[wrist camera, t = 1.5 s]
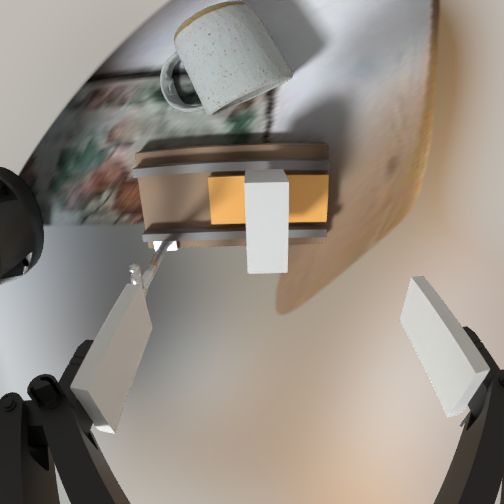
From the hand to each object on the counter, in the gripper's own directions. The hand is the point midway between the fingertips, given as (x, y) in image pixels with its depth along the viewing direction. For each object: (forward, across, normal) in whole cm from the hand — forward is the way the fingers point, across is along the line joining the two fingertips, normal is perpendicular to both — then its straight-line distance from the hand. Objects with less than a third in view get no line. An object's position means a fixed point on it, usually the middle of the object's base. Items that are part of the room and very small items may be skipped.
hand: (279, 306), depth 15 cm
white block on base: (+16, 0, 0) cm, 16 cm away
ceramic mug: (+18, -4, +12) cm, 23 cm away
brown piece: (+18, -3, 0) cm, 19 cm away
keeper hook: (+17, -10, -3) cm, 20 cm away
